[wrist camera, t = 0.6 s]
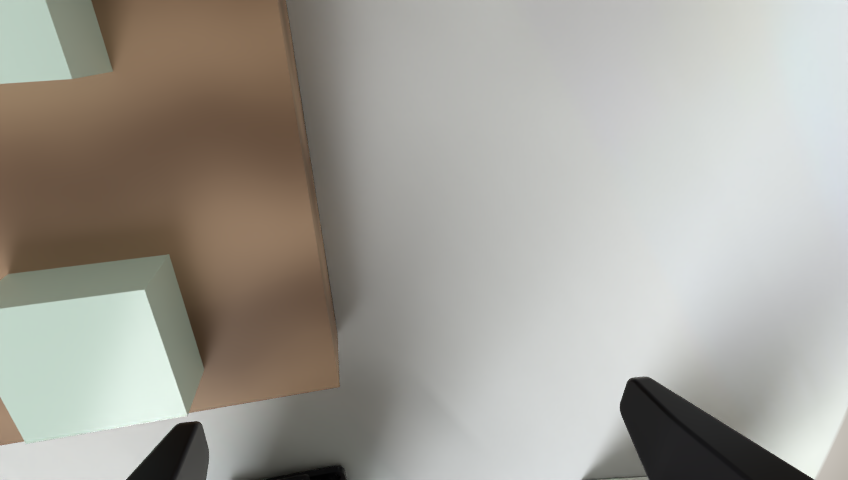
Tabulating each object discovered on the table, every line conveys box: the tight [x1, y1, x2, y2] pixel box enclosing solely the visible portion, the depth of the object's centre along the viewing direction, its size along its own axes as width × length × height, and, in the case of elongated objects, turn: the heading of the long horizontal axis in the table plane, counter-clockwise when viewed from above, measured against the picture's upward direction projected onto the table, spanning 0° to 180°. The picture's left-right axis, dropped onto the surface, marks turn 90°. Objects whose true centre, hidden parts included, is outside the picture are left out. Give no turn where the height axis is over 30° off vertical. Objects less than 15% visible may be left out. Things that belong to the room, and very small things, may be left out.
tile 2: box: [0, 254, 204, 444], centre depth 16 cm, size 5×5×2 cm
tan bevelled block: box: [0, 0, 340, 445], centre depth 17 cm, size 20×15×4 cm
